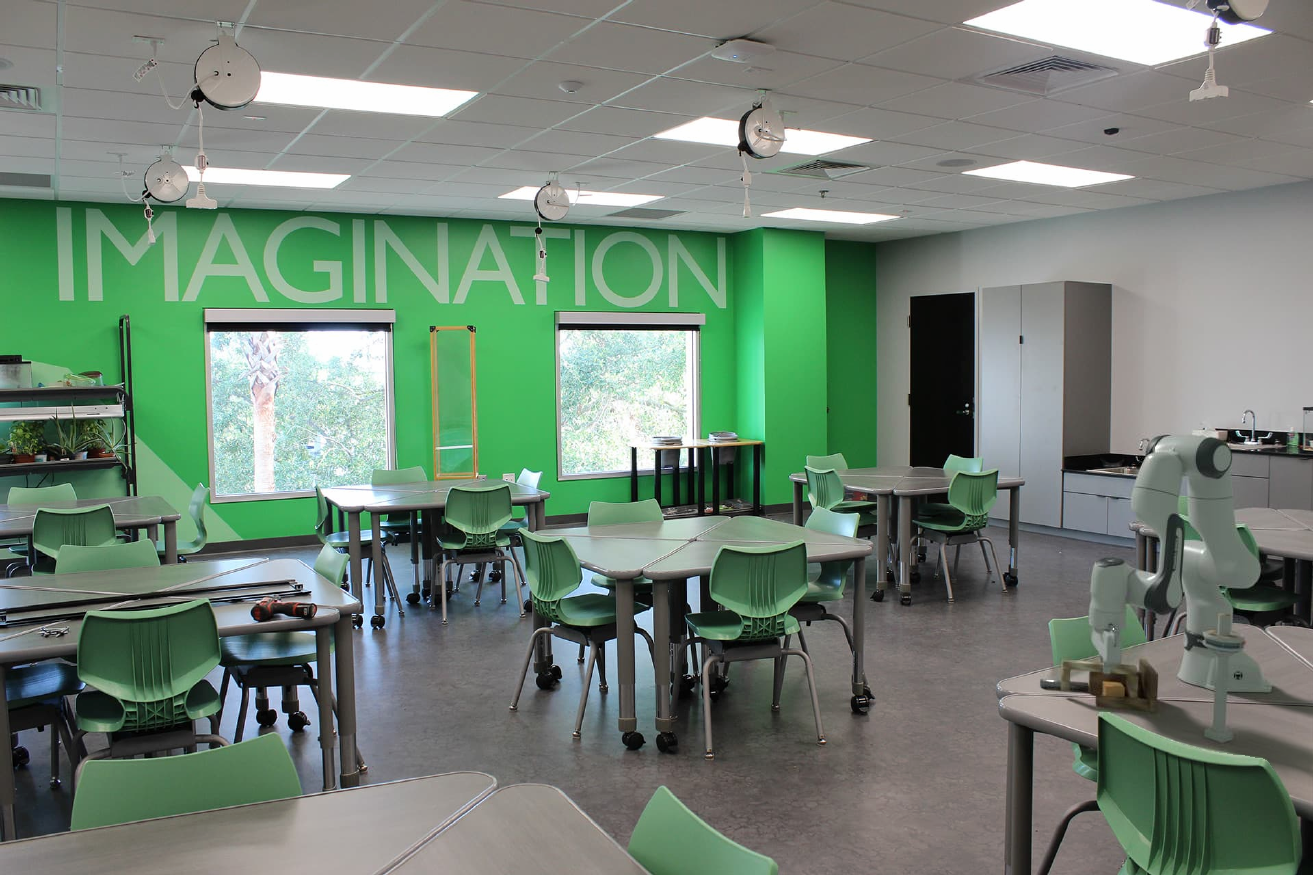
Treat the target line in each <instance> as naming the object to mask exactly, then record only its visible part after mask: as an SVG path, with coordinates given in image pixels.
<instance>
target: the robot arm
mask: <svg viewBox="0 0 1313 875" xmlns="http://www.w3.org/2000/svg"><path fill="white" fill-rule="evenodd" d="M1232 460H1233V454H1232V450H1231V448H1230V446H1229V444H1228V443H1227V442H1226V441H1225V440H1223V439H1220V438H1218V437H1213V436H1209V437H1207V436H1202V435H1194V434H1186V435H1185V434H1184V435H1183V434H1181V435H1177V434H1175V435H1171V434H1164V435H1163V434H1162V435H1158V436H1155V437H1153V438H1152V439H1151V440H1150V442H1149V443H1148V444H1147V446H1146V450H1145V457H1144V460H1143V461H1142V464H1141V466H1140V468H1139V471H1138V473H1137V475H1136V478H1135V482H1134V485H1133V488H1132V492H1131V497H1130V509H1131V511H1132V513H1133V515H1134V516H1135V518H1136V519H1137V520H1138V521H1139V522H1140V523H1141V524H1144V525H1145V526H1146V527H1148V528H1149V529H1151V530H1152V531H1153V532H1155V533H1156V535H1157V536H1158V538H1159V542H1160V547H1159V548H1160V549H1159V559H1158V560H1159V561H1158V570H1157V572H1156V573H1154V572H1149V571H1145V570H1142V569H1138V568H1134V567H1132V566H1130V565H1129V564H1128V563H1127V562H1126V560H1124V559H1122V558H1120V557H1114V556H1113V557H1102V558H1100V559H1097V560H1096V561H1095V563H1094V565H1093V567H1092V571H1091V577H1090V578H1091V579H1090V590H1089V591H1090V595H1091V599H1090V604H1089V610H1088V625H1089V626H1090V639H1091V643H1092V645H1093V647H1095V649H1096V650H1097V651H1098V658H1099V662H1100V663H1103V666H1102V671H1103V673H1104V674H1110V673H1111V666H1112V664H1115V665H1120V664H1122V658H1123V652H1122V651H1123V649H1122V648H1123V647H1122V645H1123V642H1122V640H1123V639H1122V635H1121V631H1124V630H1125V629H1126V628H1127V610H1128V609H1127V605H1130V606H1133V607H1137V608H1141V609H1144V610H1147V611H1149V612H1152V613H1154V614H1157V615H1160V616H1167V615H1169V614H1172V613H1173V612H1174V611H1176V610H1177V609H1178V608H1179V607H1181V604H1182V602H1183V600H1184V598H1183V597H1184V596H1185V600H1186V601H1185V602H1186V627H1185V628H1184V633H1183V648H1184V651H1183V657H1182V661H1181V665H1180V668H1179V671H1178V673H1177V678H1179V680H1181V681H1183V682H1185V683H1188V684H1191V685H1194V686H1198V687H1202V688H1205V689H1208V690H1210V691H1214V692H1215V675H1216V655H1215V654H1214V653H1213V652H1212V651H1211V650H1210V649H1208V648H1207V647H1206V646H1205V645H1204V644H1203V640H1205V639H1204V636H1203V632H1204V631H1205V630H1207V629H1218V615H1219V613H1225V614H1230V615H1231V623H1230V631H1233V620H1234V619H1233V618H1234V617H1233V615H1234V608H1233V604H1232V603H1231V602H1230V601H1229V600H1228V599H1227V597H1226V596H1224V594H1223V592H1222V590H1221V589H1220V586H1221V587H1225V588H1230V589H1231V588H1232V589H1249V588H1251V587H1253V586H1254V585H1255V584H1256V583H1257V582H1258V581H1259V578H1260V577H1261V572H1262V570H1261V563H1260V561H1259V559H1258V558H1257V557H1256V555H1254V554H1253V553H1252V552H1251V551H1250V550H1249V549H1248V547H1247V546H1246V544H1245V543H1244V541H1243V539H1242V537H1241V535H1240V533H1239V531H1238V528H1237V524H1236V519H1235V518H1236V517H1235V505H1234V504H1235V503H1234V488H1233V487H1234V486H1233V478H1232V473H1231V470H1230V467H1231V464H1232V462H1233V461H1232ZM1186 476H1187V483H1186V484H1187V485H1186V494H1187V496H1186V498H1187V521H1188V523H1189V525H1190V526H1191V527H1192V528H1193V529H1194V530H1195V531H1196V532H1197V533H1198V535H1199V536H1200V538H1201V540H1197V539H1185V538H1186V527H1185V521H1184V520H1183V517H1181V516H1180V513H1179V505H1178V504H1179V500H1180V495H1181V494H1180V493H1181V489H1182V483H1183V477H1186ZM1246 644H1247V642H1246V640H1244V642H1243V644H1242V645H1243V646H1244V647H1245V645H1246ZM1272 688H1273V687H1272V685H1271V683H1270V681H1268V680H1266V678H1263V671H1262V668H1261V666H1260V664H1259V663H1258V662H1257V661H1256V660H1255V659H1254V658H1253V657H1252V656H1250V655H1249V654H1248V653H1247V652H1245V651H1244V649H1243V650H1241V651H1240V652H1238V653H1236V654H1234V655H1232V656H1230V657H1229V663H1228V682H1227V693H1229V692H1231V693H1233V692H1234V693H1235V692H1236V693H1237V692H1238V693H1271V692H1272V690H1273V689H1272Z"/></svg>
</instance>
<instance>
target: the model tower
mask: <svg viewBox="0 0 1313 875" xmlns="http://www.w3.org/2000/svg"><path fill="white" fill-rule="evenodd" d="M1230 623H1231V615H1230V614H1225V613H1219V615H1218V629H1207V630H1205V631H1204V632H1203V636H1204V639H1205V640H1203V644H1204V645H1205V646H1206V647H1207V648H1208V649H1210V650H1211V651H1212V652H1213V653H1214V654H1215V655H1216V675H1215V691H1214V698H1213V700H1214V701H1213V703H1214V704H1213V719H1212V721H1213V722H1212V727H1211V728H1206V729H1204V737H1205V738H1208V739H1210V740H1212V741H1216V742H1218V743H1220V744H1221V743H1222V744H1223V743H1227V742H1229V741H1232V740H1233V737H1234V735H1233V734H1234V732H1231V731H1229V730H1226V722H1227V721H1226V718H1227V717H1226V716H1227V702H1228V701H1227V699H1228V698H1227V697H1228V692H1227V682H1228V663H1229V657H1230V656H1232V655H1234V654H1236V653H1238V652H1240V651H1241V650H1243V651H1244V649H1245V646H1243V645H1242V644H1243V642H1244V641H1245V637H1244V635H1243V634H1242V633H1240V632H1237V631H1233V630H1232V631H1230Z"/></svg>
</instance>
